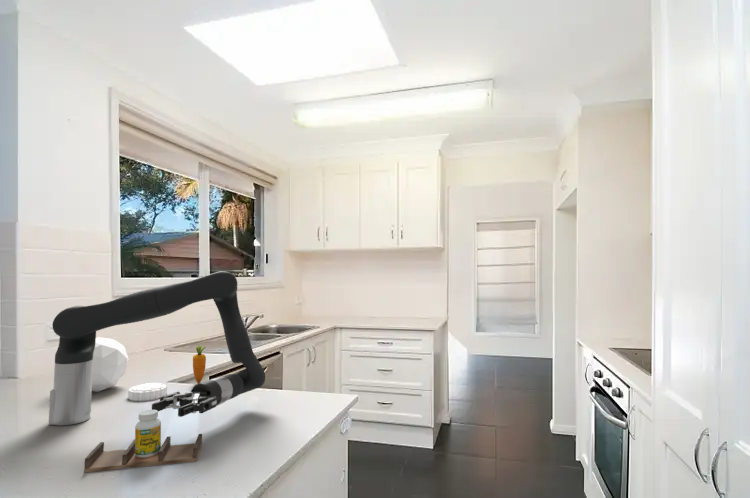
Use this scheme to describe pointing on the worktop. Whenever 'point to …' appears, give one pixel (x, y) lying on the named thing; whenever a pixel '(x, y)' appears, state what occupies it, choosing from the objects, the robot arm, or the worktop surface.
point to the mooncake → (147, 391)
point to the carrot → (199, 364)
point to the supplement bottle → (147, 434)
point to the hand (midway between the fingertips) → (165, 410)
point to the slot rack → (127, 458)
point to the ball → (108, 363)
